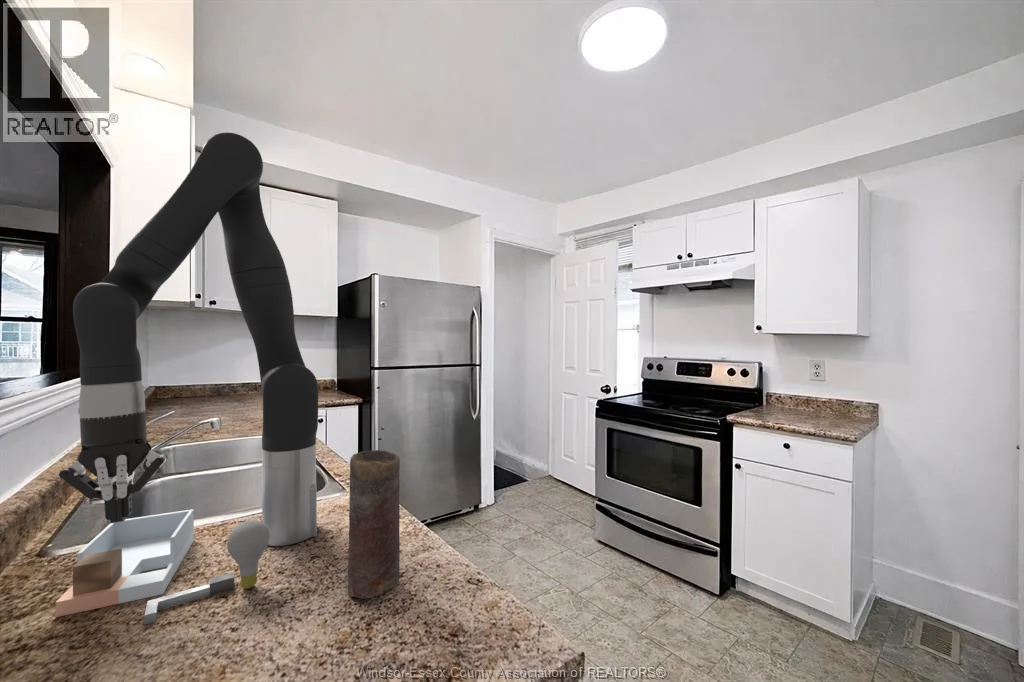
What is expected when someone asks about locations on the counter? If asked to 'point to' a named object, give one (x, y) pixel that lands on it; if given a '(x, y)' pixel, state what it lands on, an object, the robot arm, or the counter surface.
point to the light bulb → (248, 549)
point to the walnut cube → (97, 571)
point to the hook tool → (188, 596)
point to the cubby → (136, 559)
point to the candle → (373, 523)
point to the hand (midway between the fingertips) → (119, 520)
